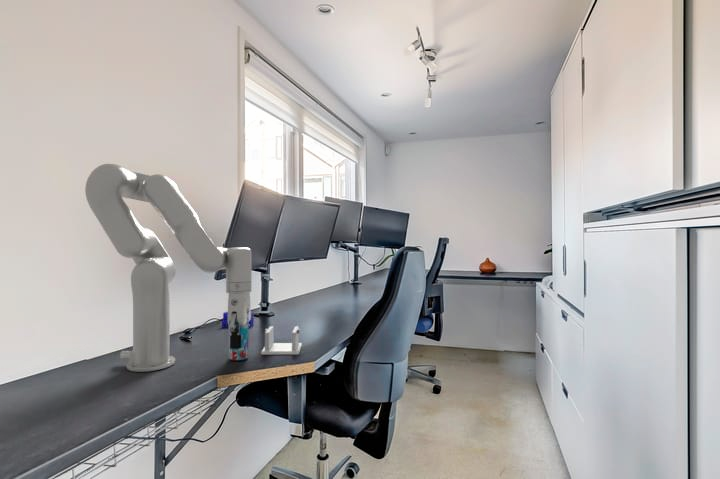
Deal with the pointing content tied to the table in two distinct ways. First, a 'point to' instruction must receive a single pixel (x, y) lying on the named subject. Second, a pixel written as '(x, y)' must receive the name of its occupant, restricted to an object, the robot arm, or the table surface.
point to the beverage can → (241, 353)
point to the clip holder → (281, 347)
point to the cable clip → (225, 320)
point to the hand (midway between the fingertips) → (238, 344)
